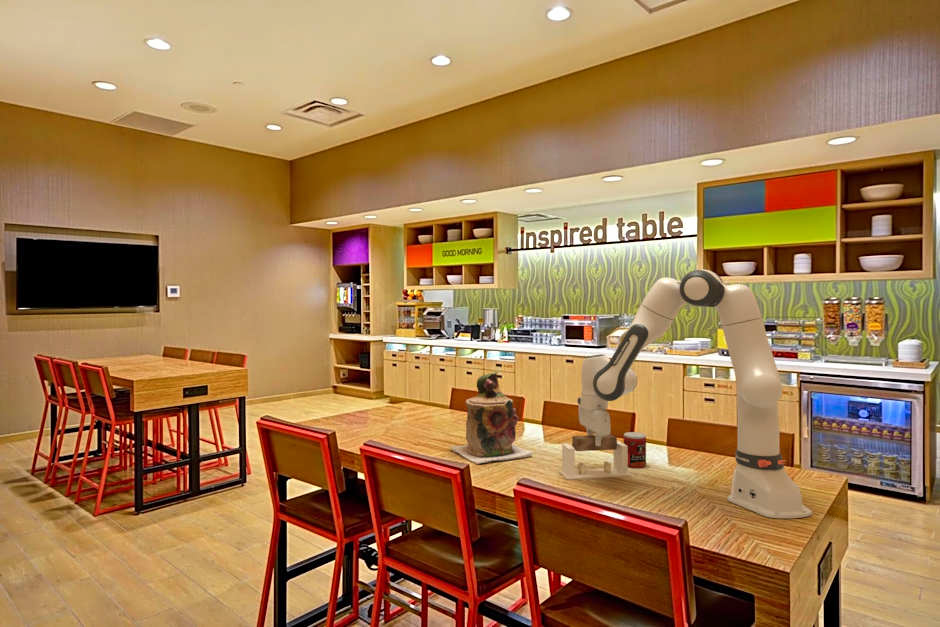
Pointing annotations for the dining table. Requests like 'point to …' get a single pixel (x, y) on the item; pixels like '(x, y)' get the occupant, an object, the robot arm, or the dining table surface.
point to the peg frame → (582, 473)
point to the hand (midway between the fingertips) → (594, 443)
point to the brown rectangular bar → (588, 443)
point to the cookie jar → (490, 425)
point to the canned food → (636, 449)
